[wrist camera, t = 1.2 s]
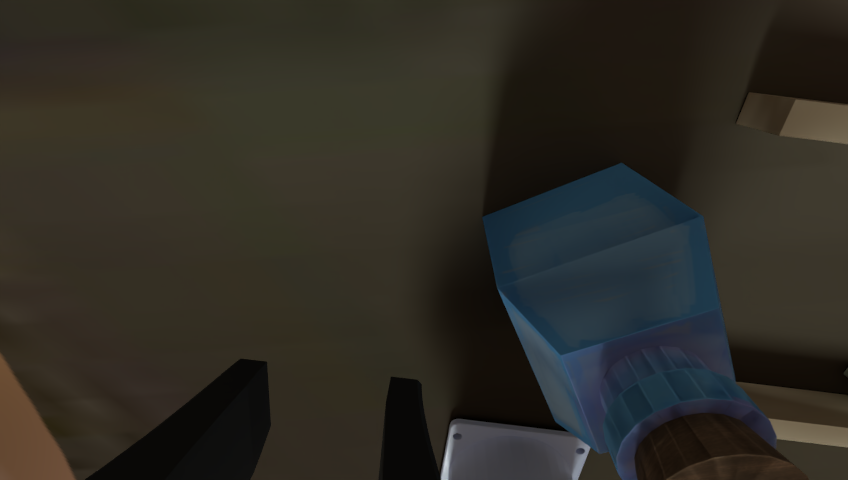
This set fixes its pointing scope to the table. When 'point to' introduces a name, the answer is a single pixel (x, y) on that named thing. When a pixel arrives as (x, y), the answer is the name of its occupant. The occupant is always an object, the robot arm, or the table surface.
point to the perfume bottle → (630, 329)
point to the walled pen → (839, 413)
